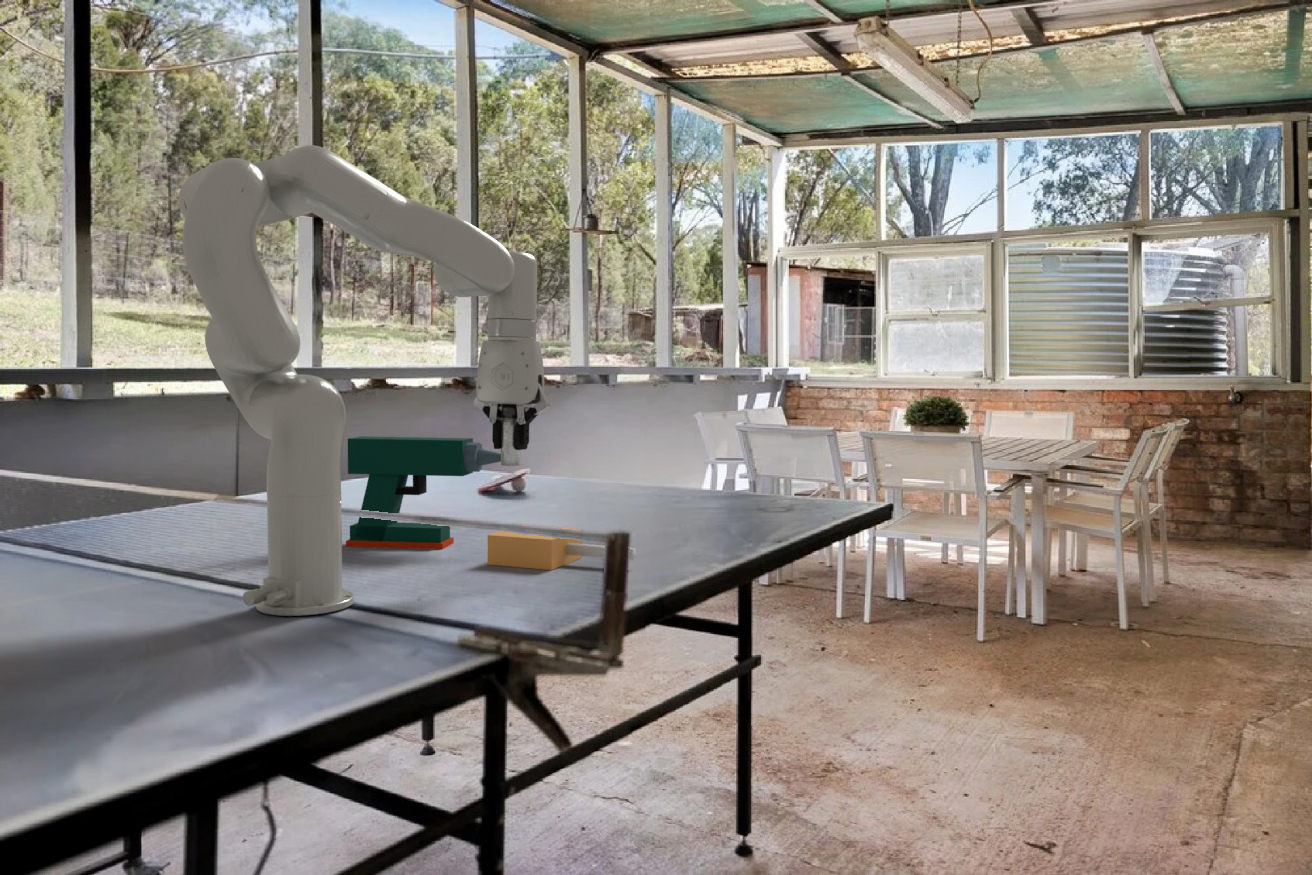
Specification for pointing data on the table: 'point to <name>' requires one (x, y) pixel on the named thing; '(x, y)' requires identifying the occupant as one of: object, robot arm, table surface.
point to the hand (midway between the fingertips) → (510, 447)
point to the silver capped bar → (509, 436)
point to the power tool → (388, 484)
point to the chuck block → (539, 550)
